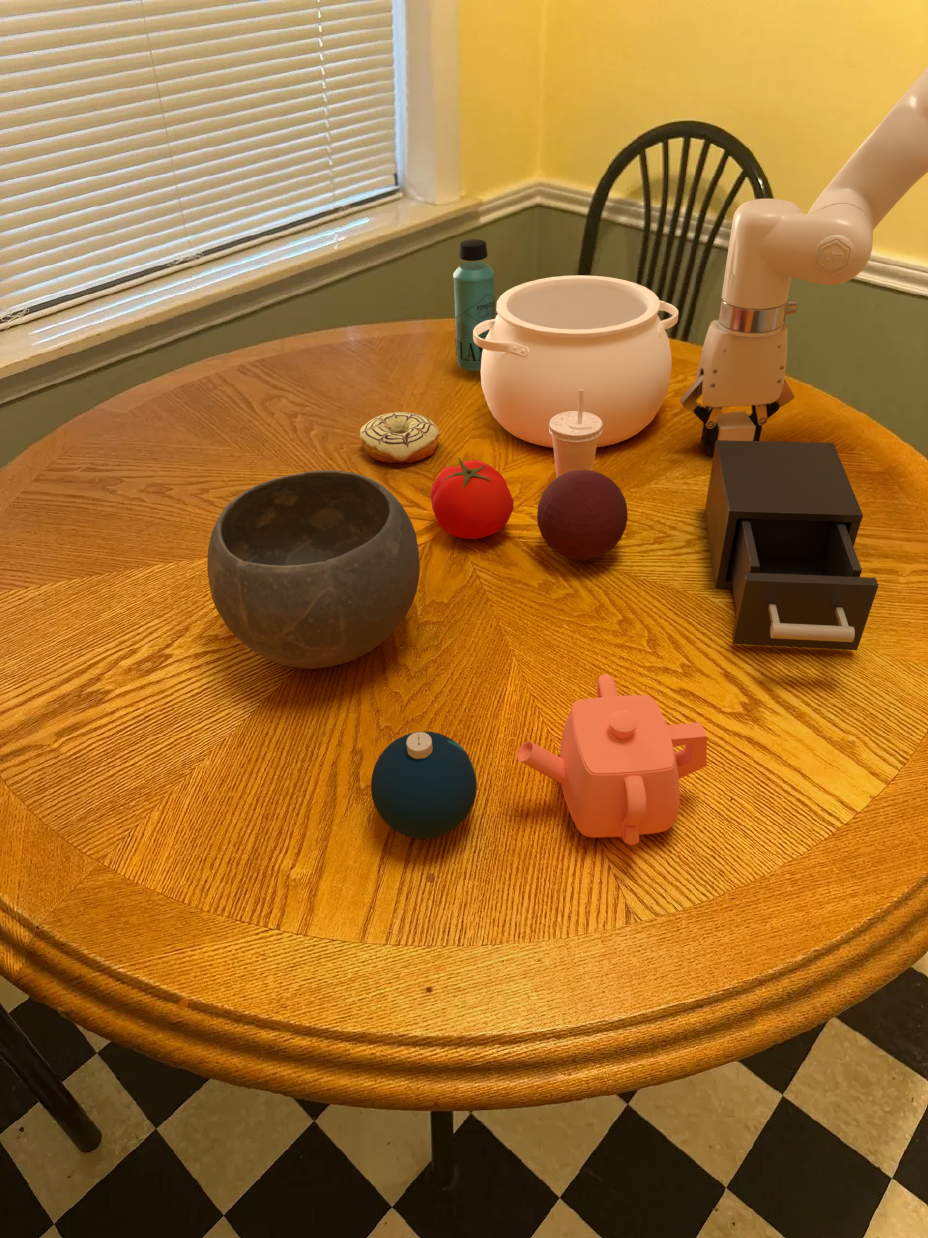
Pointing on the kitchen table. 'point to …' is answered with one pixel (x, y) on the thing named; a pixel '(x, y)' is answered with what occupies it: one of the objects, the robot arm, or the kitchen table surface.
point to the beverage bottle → (472, 302)
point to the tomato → (471, 500)
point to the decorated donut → (399, 437)
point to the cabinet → (774, 491)
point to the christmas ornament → (423, 785)
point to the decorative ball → (582, 515)
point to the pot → (576, 355)
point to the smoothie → (575, 439)
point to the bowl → (313, 567)
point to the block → (735, 427)
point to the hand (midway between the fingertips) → (728, 448)
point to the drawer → (798, 585)
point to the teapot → (620, 764)
